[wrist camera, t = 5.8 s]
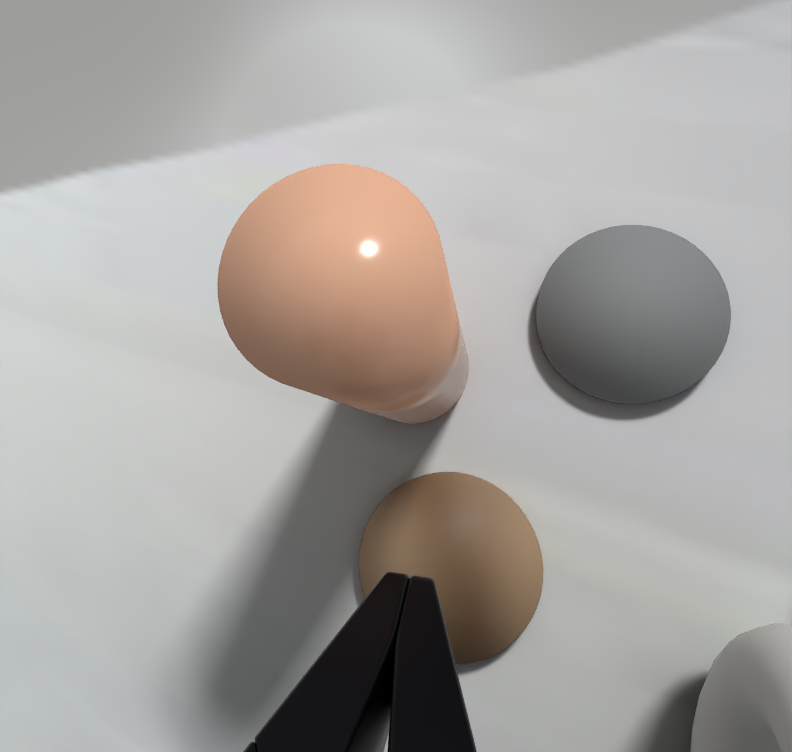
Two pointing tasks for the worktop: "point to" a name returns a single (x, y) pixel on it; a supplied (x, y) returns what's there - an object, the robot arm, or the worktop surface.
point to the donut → (748, 695)
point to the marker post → (345, 293)
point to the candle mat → (633, 314)
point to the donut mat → (459, 557)
